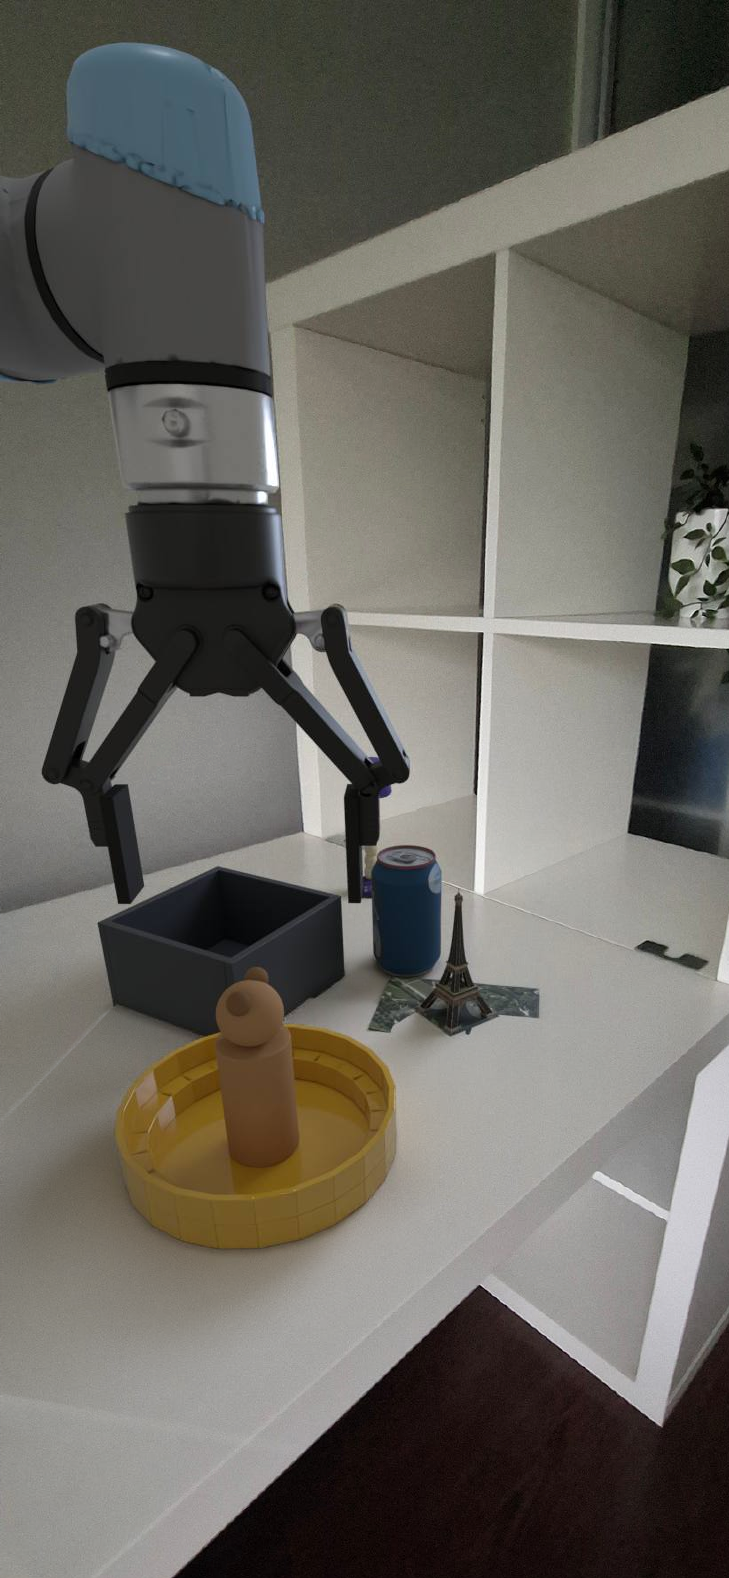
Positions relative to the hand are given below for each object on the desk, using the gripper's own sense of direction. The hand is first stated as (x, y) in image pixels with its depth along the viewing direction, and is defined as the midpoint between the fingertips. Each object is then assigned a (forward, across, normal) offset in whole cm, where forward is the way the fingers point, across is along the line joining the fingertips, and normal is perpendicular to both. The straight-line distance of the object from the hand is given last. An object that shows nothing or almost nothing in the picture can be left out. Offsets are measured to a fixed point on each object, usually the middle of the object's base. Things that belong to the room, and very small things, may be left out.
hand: (244, 895), depth 49 cm
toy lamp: (+20, +5, +47) cm, 51 cm away
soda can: (+20, +10, +28) cm, 36 cm away
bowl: (+20, 0, 0) cm, 20 cm away
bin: (+20, -7, +23) cm, 31 cm away
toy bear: (+20, 0, 0) cm, 20 cm away
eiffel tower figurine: (+20, +14, +18) cm, 31 cm away
